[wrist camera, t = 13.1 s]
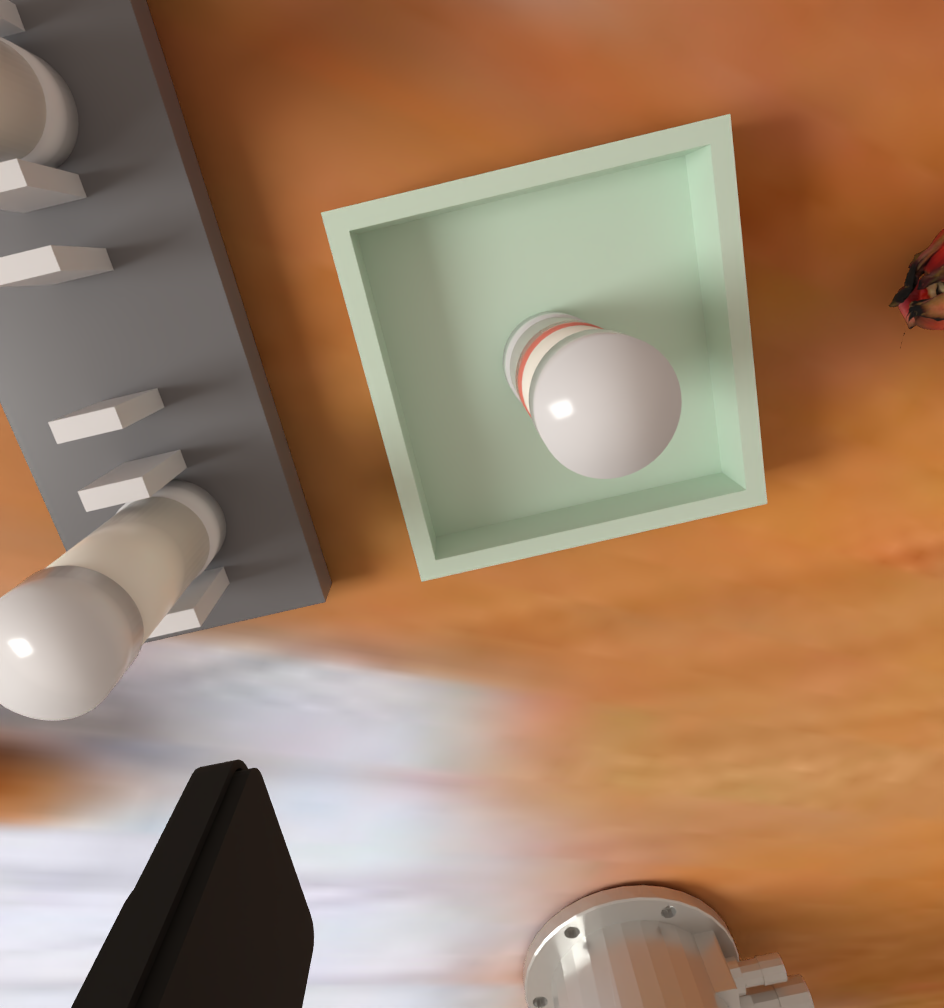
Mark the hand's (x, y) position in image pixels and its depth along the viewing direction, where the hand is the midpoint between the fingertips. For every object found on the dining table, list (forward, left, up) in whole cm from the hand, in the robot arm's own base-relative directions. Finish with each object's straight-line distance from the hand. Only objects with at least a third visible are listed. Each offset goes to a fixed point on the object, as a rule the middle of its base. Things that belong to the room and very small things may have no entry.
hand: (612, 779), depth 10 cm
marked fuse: (-3, -2, -22) cm, 23 cm away
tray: (-3, -2, -23) cm, 24 cm away
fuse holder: (+14, -7, -23) cm, 28 cm away
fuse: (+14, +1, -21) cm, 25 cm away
